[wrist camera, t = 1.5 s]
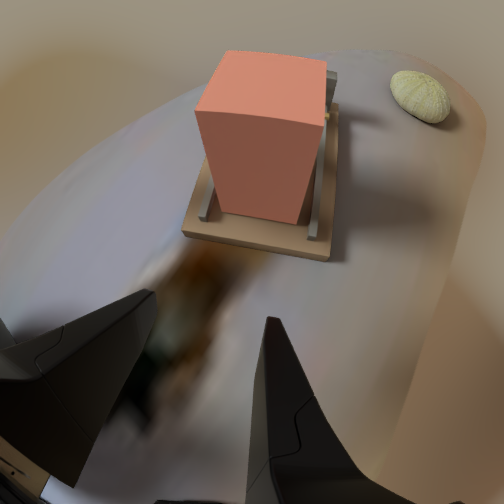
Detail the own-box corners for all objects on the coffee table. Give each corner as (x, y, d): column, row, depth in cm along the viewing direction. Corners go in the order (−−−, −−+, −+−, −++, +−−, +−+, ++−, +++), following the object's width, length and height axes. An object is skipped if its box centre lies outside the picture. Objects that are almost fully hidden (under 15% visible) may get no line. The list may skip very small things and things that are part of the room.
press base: (325, 262, 22) (346, 235, 17) (185, 236, 23) (164, 204, 18) (335, 112, 28) (346, 73, 22) (233, 97, 29) (229, 57, 23)
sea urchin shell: (379, 66, 29) (425, 50, 23) (401, 101, 34) (443, 88, 28) (393, 105, 26) (449, 87, 20) (414, 142, 31) (462, 129, 25)
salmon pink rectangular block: (296, 224, 21) (324, 126, 11) (221, 211, 22) (194, 110, 12) (304, 164, 23) (326, 61, 13) (238, 153, 24) (227, 50, 13)
